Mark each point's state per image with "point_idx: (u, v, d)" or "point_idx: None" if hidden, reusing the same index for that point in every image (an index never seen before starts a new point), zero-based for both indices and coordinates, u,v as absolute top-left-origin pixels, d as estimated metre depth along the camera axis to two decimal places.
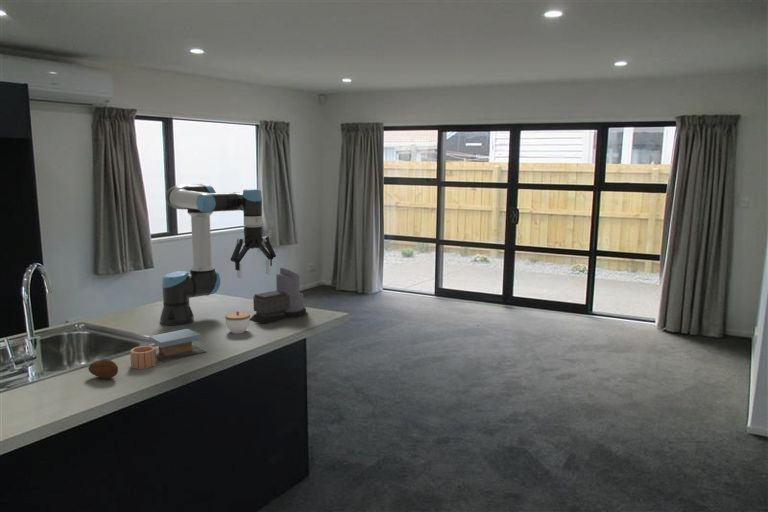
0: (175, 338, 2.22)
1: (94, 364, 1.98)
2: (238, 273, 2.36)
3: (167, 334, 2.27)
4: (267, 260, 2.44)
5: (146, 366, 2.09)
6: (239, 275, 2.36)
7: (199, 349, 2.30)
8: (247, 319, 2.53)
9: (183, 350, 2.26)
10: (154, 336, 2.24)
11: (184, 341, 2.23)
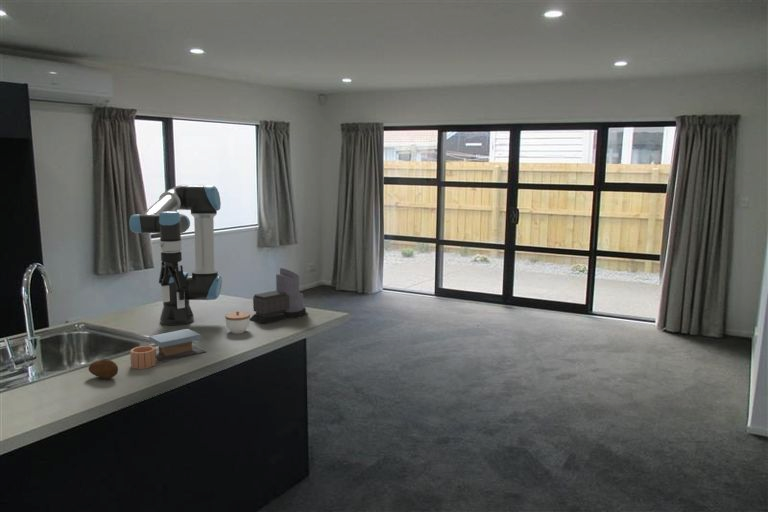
0: (175, 338, 2.22)
1: (94, 364, 1.98)
2: None
3: (167, 334, 2.27)
4: None
5: (146, 366, 2.09)
6: None
7: (199, 349, 2.30)
8: (247, 319, 2.53)
9: (183, 350, 2.26)
10: (154, 336, 2.24)
11: (184, 341, 2.23)
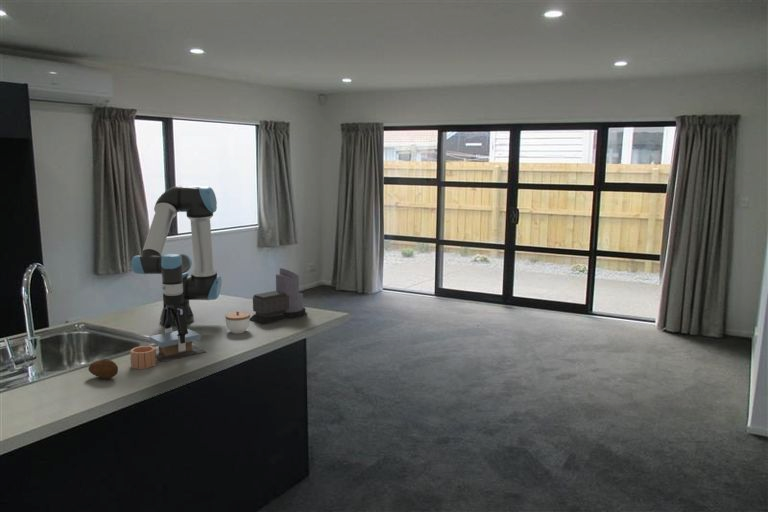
0: (175, 338, 2.22)
1: (94, 364, 1.98)
2: None
3: (167, 334, 2.27)
4: None
5: (146, 366, 2.09)
6: None
7: (199, 349, 2.30)
8: (247, 319, 2.53)
9: None
10: (154, 336, 2.24)
11: None
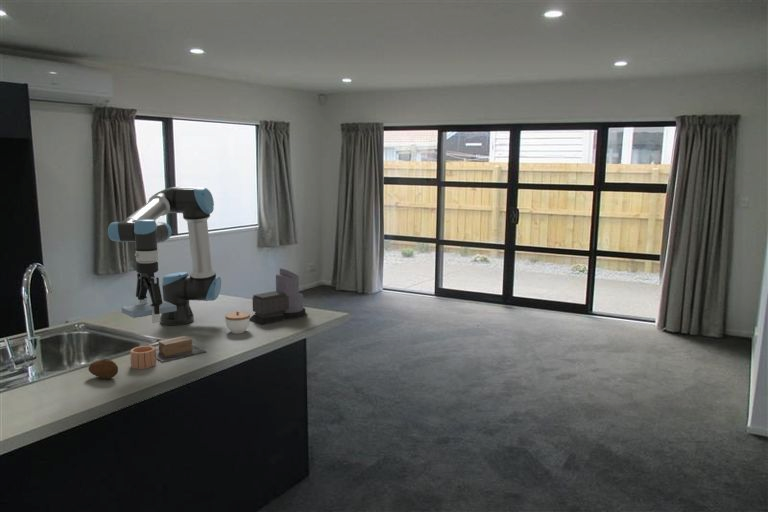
0: (149, 309, 2.09)
1: (94, 364, 1.98)
2: None
3: (141, 305, 2.14)
4: None
5: (146, 366, 2.09)
6: None
7: (199, 349, 2.30)
8: (247, 319, 2.53)
9: (183, 350, 2.26)
10: (127, 307, 2.10)
11: None
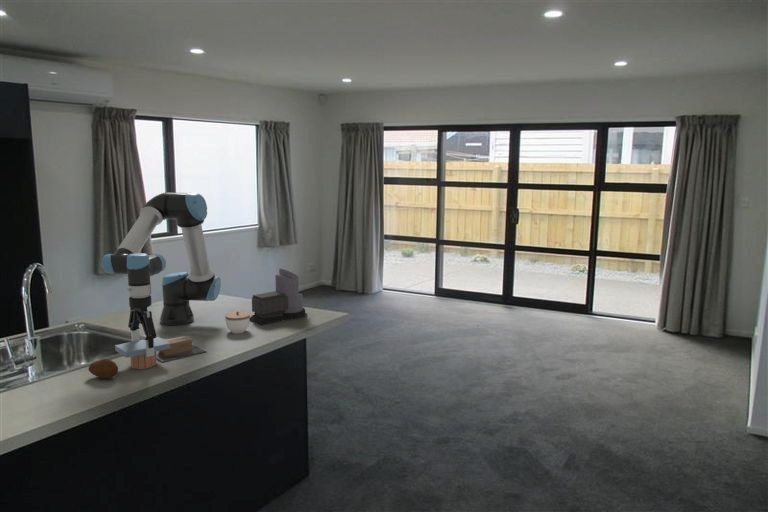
0: (142, 347, 2.07)
1: (94, 364, 1.98)
2: None
3: (134, 343, 2.12)
4: None
5: (146, 366, 2.09)
6: None
7: (199, 349, 2.30)
8: (247, 319, 2.53)
9: (183, 350, 2.26)
10: (120, 346, 2.09)
11: None
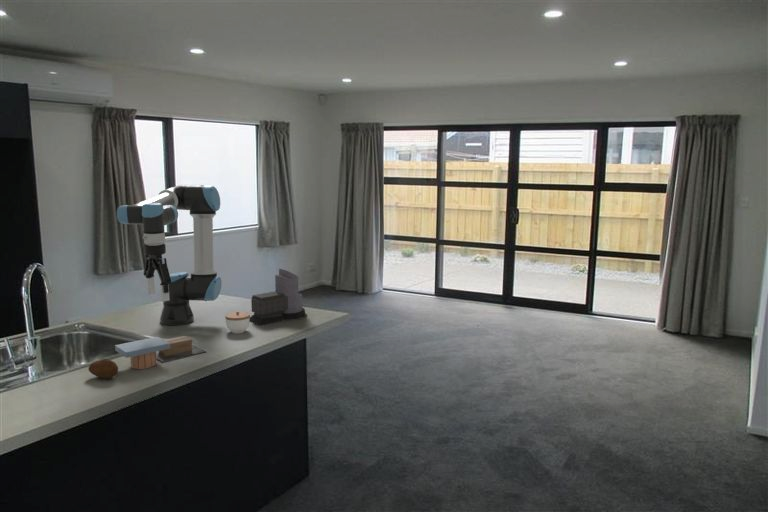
0: (142, 347, 2.07)
1: (94, 364, 1.98)
2: None
3: (134, 343, 2.12)
4: None
5: (146, 366, 2.09)
6: None
7: (199, 349, 2.30)
8: (247, 319, 2.53)
9: (183, 350, 2.26)
10: (120, 346, 2.09)
11: (152, 350, 2.09)
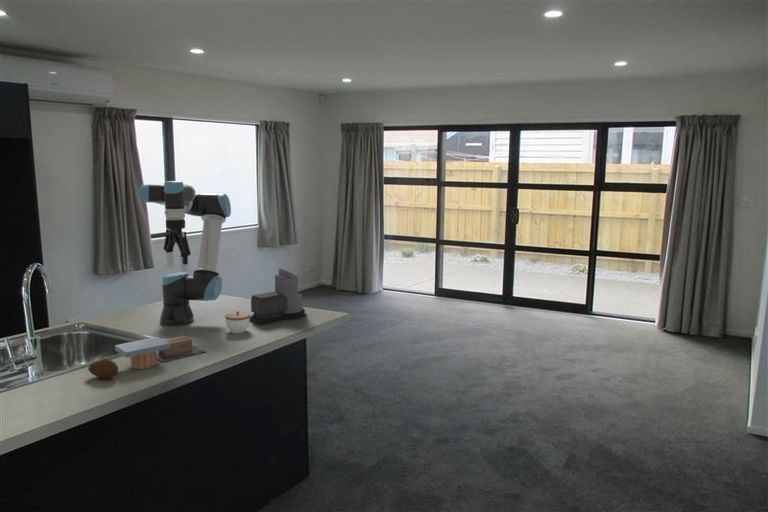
0: (142, 347, 2.07)
1: (94, 364, 1.98)
2: None
3: (134, 343, 2.12)
4: None
5: (146, 366, 2.09)
6: None
7: (199, 349, 2.30)
8: (247, 319, 2.53)
9: (183, 350, 2.26)
10: (120, 346, 2.09)
11: (152, 350, 2.09)
